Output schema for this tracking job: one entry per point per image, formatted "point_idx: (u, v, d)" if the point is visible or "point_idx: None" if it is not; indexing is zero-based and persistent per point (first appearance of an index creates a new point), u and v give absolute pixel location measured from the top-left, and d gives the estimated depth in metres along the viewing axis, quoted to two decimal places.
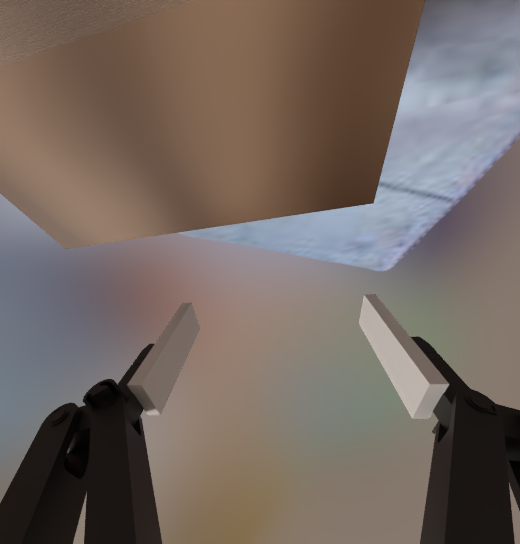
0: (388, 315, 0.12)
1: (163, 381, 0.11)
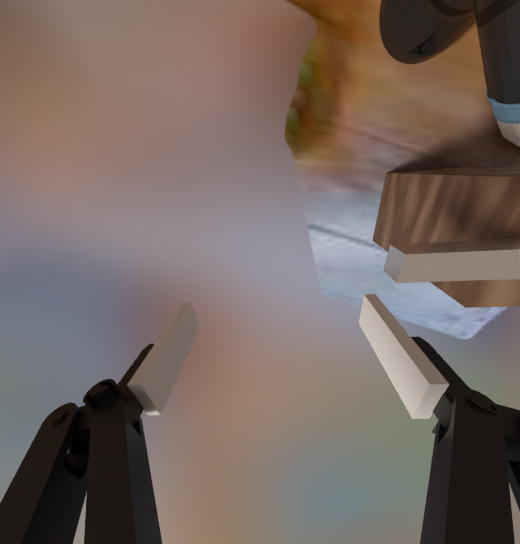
0: (388, 315, 0.12)
1: (163, 381, 0.11)
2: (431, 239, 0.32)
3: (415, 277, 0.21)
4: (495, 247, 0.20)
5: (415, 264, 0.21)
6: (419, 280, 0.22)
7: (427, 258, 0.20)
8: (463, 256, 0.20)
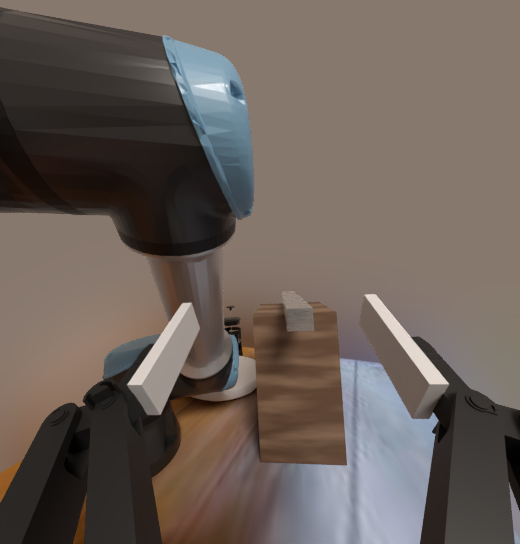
0: (388, 315, 0.12)
1: (163, 381, 0.11)
2: (304, 363, 0.37)
3: (305, 305, 0.27)
4: None
5: (294, 307, 0.27)
6: (308, 305, 0.28)
7: (289, 306, 0.28)
8: (287, 303, 0.31)
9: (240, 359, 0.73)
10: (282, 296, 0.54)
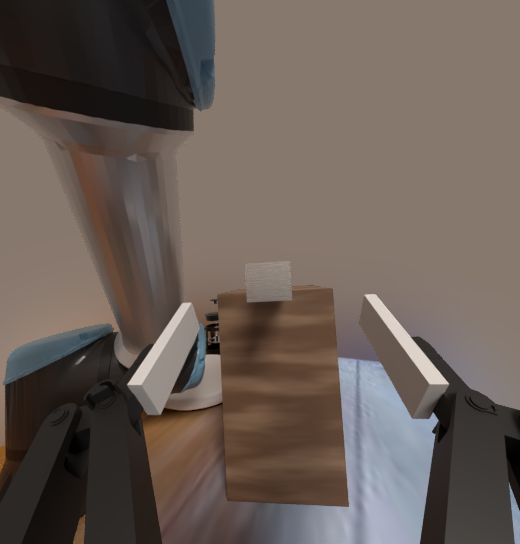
0: (388, 315, 0.12)
1: (163, 381, 0.11)
2: (288, 361, 0.26)
3: None
4: None
5: None
6: None
7: None
8: None
9: None
10: None
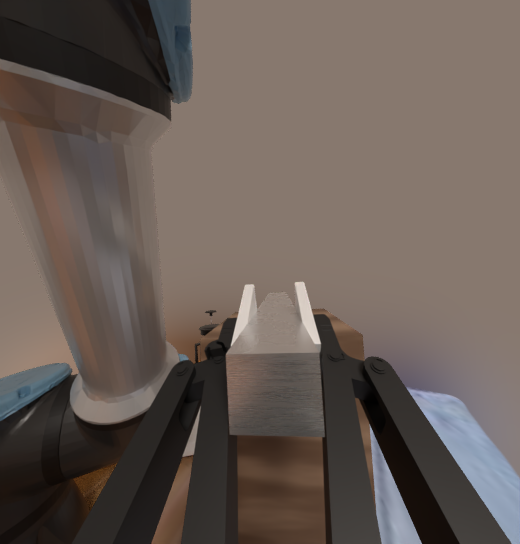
0: (304, 297, 0.14)
1: None
2: None
3: (297, 337, 0.09)
4: None
5: (259, 342, 0.09)
6: (304, 334, 0.09)
7: (250, 335, 0.10)
8: (256, 320, 0.13)
9: None
10: None
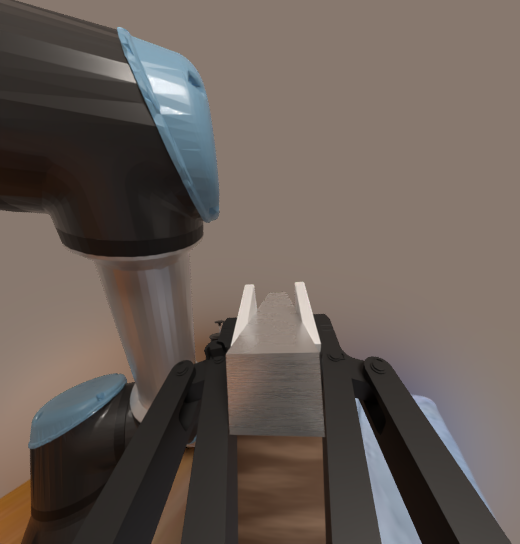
0: (304, 297, 0.14)
1: None
2: None
3: (297, 337, 0.09)
4: None
5: (259, 342, 0.09)
6: (304, 333, 0.09)
7: (250, 335, 0.10)
8: (256, 320, 0.13)
9: None
10: None
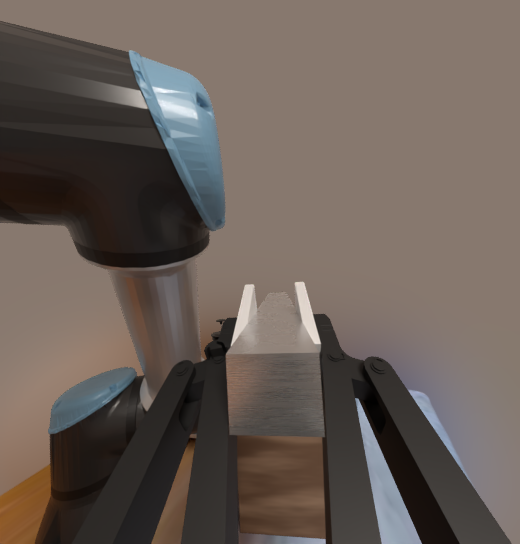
0: (304, 297, 0.14)
1: None
2: None
3: (297, 337, 0.09)
4: None
5: (259, 342, 0.09)
6: (304, 333, 0.09)
7: (250, 335, 0.10)
8: (256, 320, 0.13)
9: None
10: None
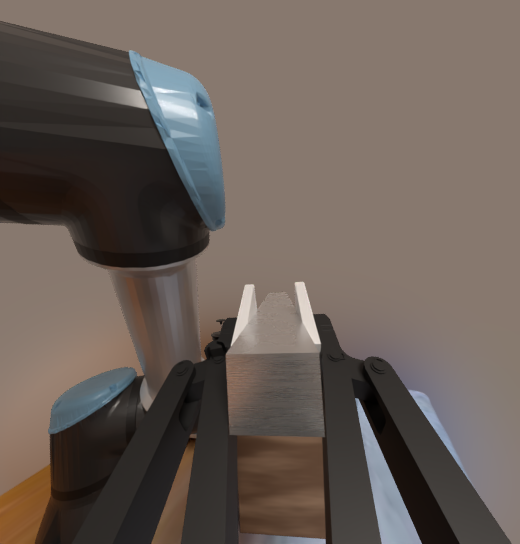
0: (304, 297, 0.14)
1: None
2: None
3: (297, 337, 0.09)
4: None
5: (259, 342, 0.09)
6: (304, 333, 0.09)
7: (250, 335, 0.10)
8: (256, 320, 0.13)
9: None
10: None
